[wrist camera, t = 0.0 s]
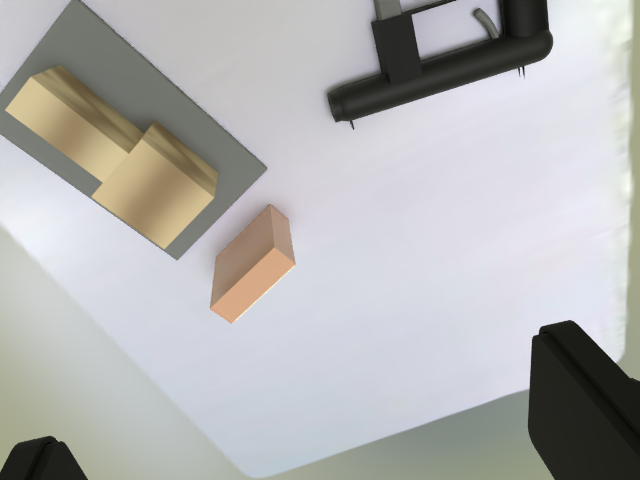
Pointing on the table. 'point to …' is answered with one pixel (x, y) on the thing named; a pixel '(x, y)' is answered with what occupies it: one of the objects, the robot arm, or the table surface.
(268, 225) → the tan rectangular block
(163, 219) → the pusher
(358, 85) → the door handle
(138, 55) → the rest mat
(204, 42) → the table surface
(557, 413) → the robot arm
